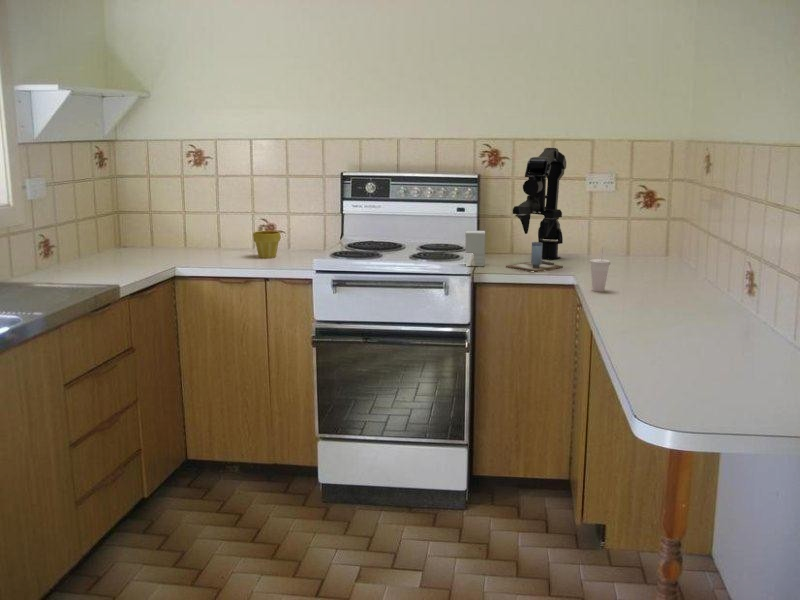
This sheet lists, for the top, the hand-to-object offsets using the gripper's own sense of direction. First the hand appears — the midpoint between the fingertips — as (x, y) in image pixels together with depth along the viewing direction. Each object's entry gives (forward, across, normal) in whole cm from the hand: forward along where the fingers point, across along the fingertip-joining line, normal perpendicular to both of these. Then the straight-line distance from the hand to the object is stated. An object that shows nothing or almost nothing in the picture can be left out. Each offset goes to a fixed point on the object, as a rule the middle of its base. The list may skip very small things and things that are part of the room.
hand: (536, 235), depth 307 cm
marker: (+11, +5, -5) cm, 13 cm away
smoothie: (+11, +42, -21) cm, 48 cm away
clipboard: (+12, +1, -1) cm, 12 cm away
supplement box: (+12, -17, -14) cm, 25 cm away
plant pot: (+11, -82, -63) cm, 104 cm away
